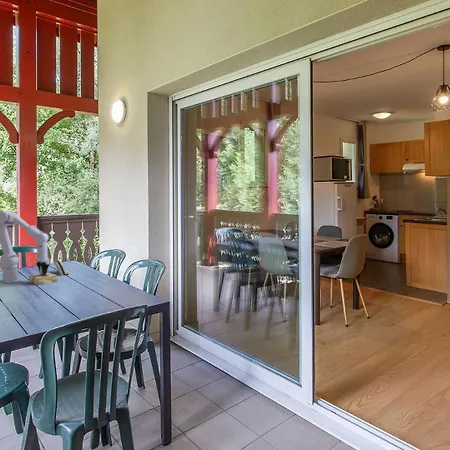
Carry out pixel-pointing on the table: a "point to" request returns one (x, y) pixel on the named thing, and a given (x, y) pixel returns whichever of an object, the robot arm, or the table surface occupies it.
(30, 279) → the knuckle block
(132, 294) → the table surface
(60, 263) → the grey stapler
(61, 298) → the table surface
